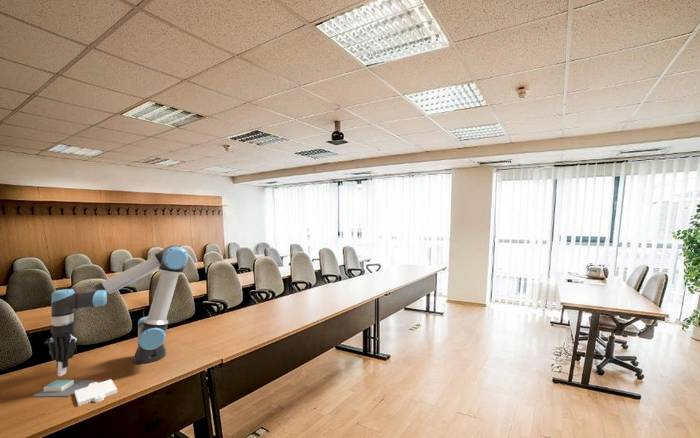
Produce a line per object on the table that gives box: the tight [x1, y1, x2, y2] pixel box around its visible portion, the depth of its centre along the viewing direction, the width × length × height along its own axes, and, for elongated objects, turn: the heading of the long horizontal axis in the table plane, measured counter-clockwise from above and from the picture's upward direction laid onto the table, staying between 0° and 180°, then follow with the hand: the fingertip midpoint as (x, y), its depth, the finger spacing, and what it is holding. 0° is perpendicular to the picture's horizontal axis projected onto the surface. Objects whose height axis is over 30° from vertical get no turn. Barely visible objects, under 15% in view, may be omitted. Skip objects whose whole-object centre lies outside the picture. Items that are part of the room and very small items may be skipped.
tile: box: [43, 379, 75, 392], centre depth 136 cm, size 2×6×8 cm
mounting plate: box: [73, 378, 118, 407], centre depth 132 cm, size 18×13×2 cm
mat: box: [31, 379, 95, 398], centre depth 136 cm, size 16×13×1 cm
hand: (62, 374), depth 136 cm, fingers closed
